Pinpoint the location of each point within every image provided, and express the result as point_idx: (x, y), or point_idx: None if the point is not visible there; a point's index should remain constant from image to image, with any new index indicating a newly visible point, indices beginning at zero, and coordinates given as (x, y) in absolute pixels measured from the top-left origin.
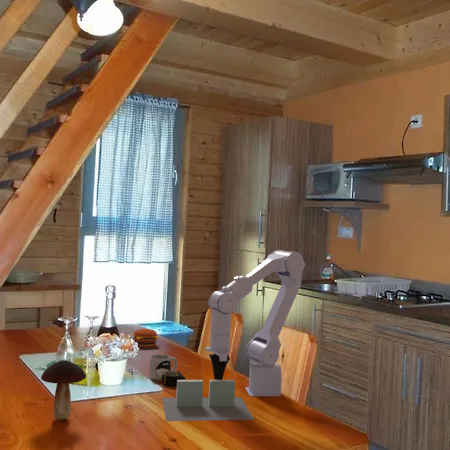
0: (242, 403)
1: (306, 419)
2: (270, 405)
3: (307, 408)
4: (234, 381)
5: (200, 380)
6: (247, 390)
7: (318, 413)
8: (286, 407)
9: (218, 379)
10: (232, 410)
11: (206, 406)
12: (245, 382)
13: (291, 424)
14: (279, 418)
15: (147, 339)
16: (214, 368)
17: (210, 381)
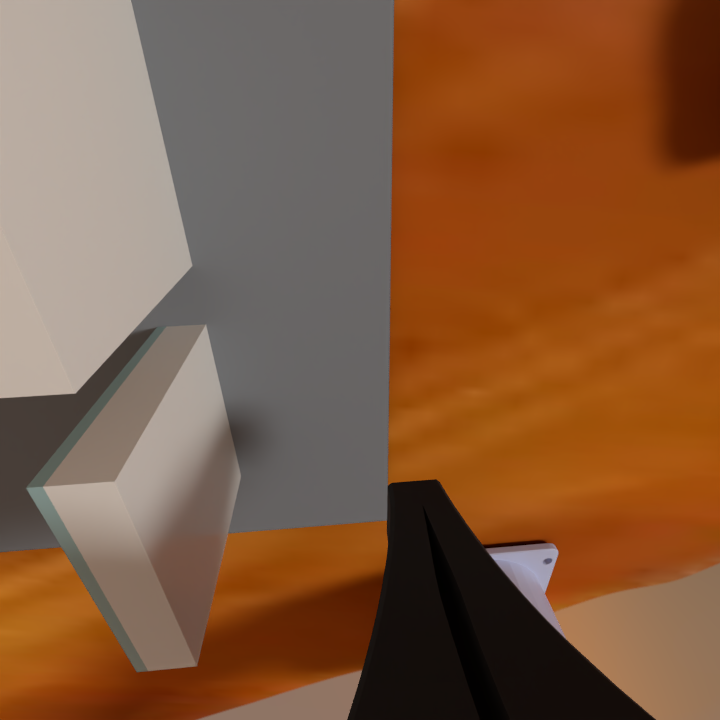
0: (269, 520)
1: (112, 690)
2: (278, 610)
3: (254, 697)
4: (135, 667)
5: (20, 364)
6: (496, 555)
7: (199, 716)
8: (257, 652)
9: (388, 516)
10: None
11: (157, 307)
12: (669, 545)
13: (20, 654)
14: (88, 627)
15: None
16: (376, 620)
17: (28, 490)
